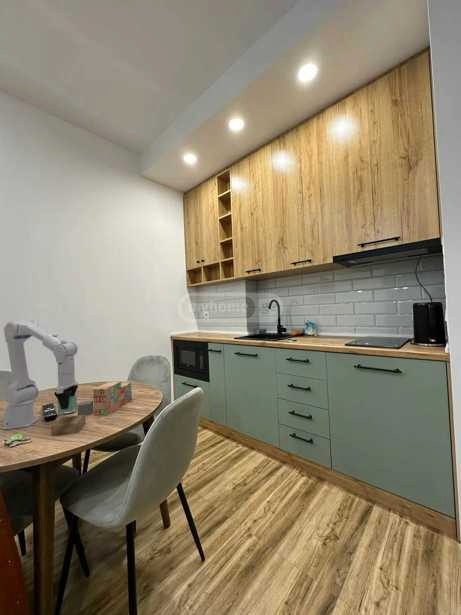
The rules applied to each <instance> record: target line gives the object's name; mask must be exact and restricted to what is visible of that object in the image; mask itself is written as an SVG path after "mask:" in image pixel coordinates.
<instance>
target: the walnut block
mask: <svg viewBox="0 0 461 615" xmlns="http://www.w3.org/2000/svg"><path fill="white" fill-rule="evenodd" d="M85 425H86V416H85V415H78V414H77V415H73V416H72V415H70V416H64V417H60V418H59V419H58V420H56V422H55V423H53V424H52V425H51V427H50V431H51V433H50V436H51V437H58V436H65V435H72V434H79V432H80V431H81V430H82V429H83V427H84V426H85Z"/></svg>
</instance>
